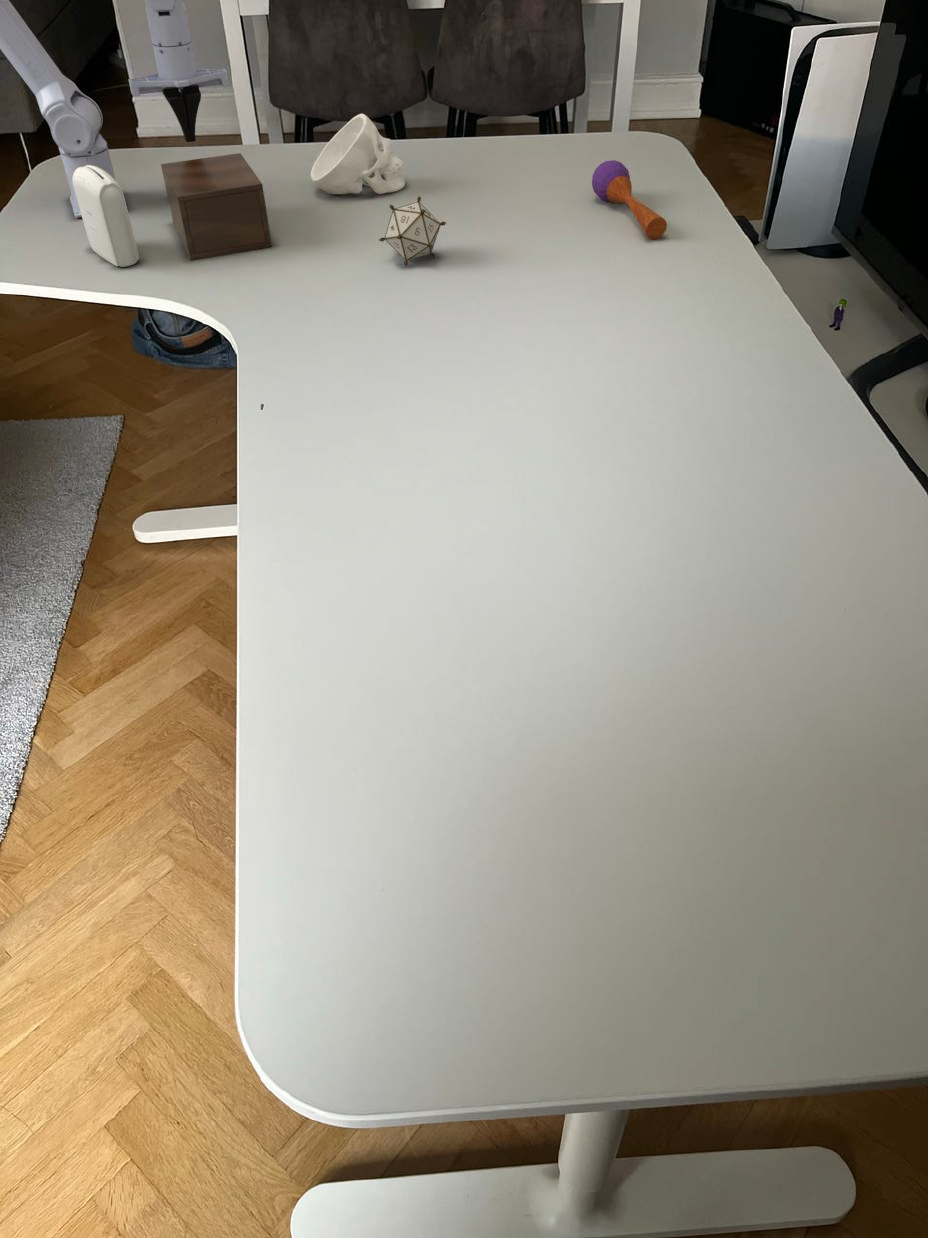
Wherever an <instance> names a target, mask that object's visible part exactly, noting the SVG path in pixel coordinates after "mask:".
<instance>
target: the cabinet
mask: <svg viewBox="0 0 928 1238" xmlns="http://www.w3.org/2000/svg"><path fill="white" fill-rule="evenodd" d="M160 167H161V171H162V177H163V181H164V186H165V190H166V191H165V192H166V195H167V200H168V204H169V205H168V206H169V208H170V213H171V214H170V215H171V219H172V223H173V227H174V228H175V231H176V233H177V235H178V237H179V239H180V241H181V243H182V245H183V247H184V250H185V252H186V254H187V256H188V258H189V260H190V261H194V260H200V259H206V258H212V257H218V256H219V257H220V256H224V255H229V254H236V253H242V252H249V251H254V250H261V249H265V248H271V247H272V245H273V244H272V238H271V232H270V225H269V219H268V213H267V205H266V199H265V198H266V197H265V192H264V186H263V183H262V181H261V180H260V179H259V177H258V176H257V174H256V172H255V171H254V170H253V168H252V167H251V166H250V164H249V163H248V162H247V160H246V158H245V157H244V156H243V155H242V153H241V152H238V153H229V154H223V155H216V156H209V157H202V158H196V159H188V160H181V161H172V162H168V163H161V164H160Z"/></svg>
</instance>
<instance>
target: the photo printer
mask: <svg viewBox="0 0 928 1238" xmlns="http://www.w3.org/2000/svg"><path fill="white" fill-rule="evenodd" d="M72 181H73V186H74V190H75V193H76V197H77V201H78V204H79V208H80V211H81V215H82V217H81V218H82V222H83V225H84V229H85V232H86V235H87V239H88V243H89V246H90V247H91V249H92V251H93V252H95V253H96V254H97V255H98V256H100V257H101V258H103V259H104V260H106V261H107V262H109V263H110V264H112V265H114V266H115V267H121V268H123V267H124V268H126V267H129V266H130V267H131V266H133V265H135V264H137V263H138V261H139V260H140V254H139V250H138V246H137V243H136V239H135V234H134V230H133V226H132V222H131V219H130V215H129V211H128V206H127V203H126V199H125V194H124V191H123V189H122V187H121V186H120V184H119V183H118V182H117V180H116V181H115V180H114V179H113V178H112V177H111V176H110V175H109V174H108V173H107V172H105V171H104V170H102V169H100V168H98V167H96V166H92V165H86V166H84V167H79V168H77V169H76V170H75V172H74V174H73V178H72Z"/></svg>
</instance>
